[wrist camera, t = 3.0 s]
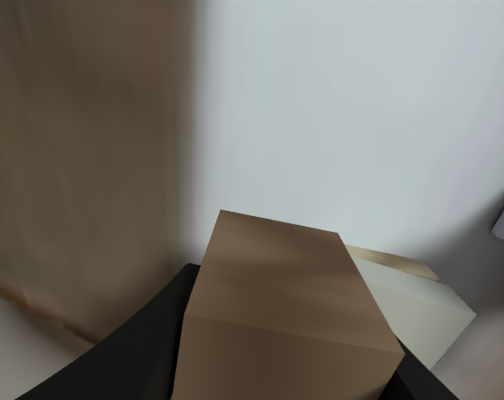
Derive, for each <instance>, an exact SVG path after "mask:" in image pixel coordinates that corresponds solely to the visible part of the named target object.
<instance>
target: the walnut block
mask: <svg viewBox="0 0 504 400" xmlns="http://www.w3.org/2000/svg"><path fill="white" fill-rule="evenodd" d="M404 355H405V353H404V351H403V349H402V348H401V346H400V344H399V342H398V340H397V339H396V337H395V335H394V333H393V331H392V330H391V328H390V326H389V324H388V322H387V321H386V319H385V317H384V315H383V313H382V312H381V310H380V308H379V306H378V304H377V303H376V301H375V299H374V297H373V295H372V294H371V292H370V290H369V288H368V286H367V285H366V283H365V281H364V279H363V277H362V276H361V274H360V272H359V270H358V269H357V267H356V265H355V263H354V261H353V260H352V258H351V256H350V254H349V252H348V251H347V249H346V247H345V245H344V243H343V242H342V240H341V238H340V236H339V234H338V233H335V232H330V231H325V230H320V229H315V228H310V227H305V226H300V225H295V224H290V223H285V222H280V221H275V220H270V219H265V218H260V217H255V216H250V215H245V214H240V213H235V212H230V211H225V210H220V212H219V215H218V218H217V221H216V224H215V227H214V230H213V232H212V235H211V238H210V241H209V244H208V247H207V250H206V253H205V256H204V258H203V261H202V264H201V267H200V270H199V273H198V276H197V279H196V282H195V285H194V287H193V290H192V293H191V296H190V299H189V302H188V305H187V308H186V311H185V313H184V319H183V326H182V333H181V340H180V347H179V354H178V361H177V367H176V374H175V381H174V388H173V395H172V400H378V398H379V396H380V395H381V393H382V391H383V390H384V388H385V387H386V385H387V383H388V382H389V380H390V378H391V377H392V375H393V373H394V372H395V370H396V368H397V367H398V365H399V363H400V362H401V360H402V358H403V357H404Z"/></svg>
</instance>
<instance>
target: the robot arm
mask: <svg viewBox="0 0 504 400" xmlns="http://www.w3.org/2000/svg"><path fill="white" fill-rule="evenodd" d="M492 234H493V235H494V236H495V237H497V238H499V239H504V211H503V213H502V214H501V216H500V217H499V219H498V221H497V222H496V224H495V226H494V227H493V229H492ZM200 267H201V265H196V264H191V263H188V264H187V265H185V266H184V267H183V268H182V270H181V271H180V272H179V273H178V274H177V275H176V276H175V277H174V278H173V279H172V280H171V281H170V282H169V283H168V284H167V285H166V286H165V287H164V288H163V289H162V290H161V291H160V292H159V293H158V294H157V295H156V296H155V297H154V298H153V299H152V300H151V301H149V302H148V303H147V304H146V305H145V306H144V307H143V308H142V309H141V310H139V311H138V312H137V313H136V314H135V315H133V316H132V317H131V318H130V319H129V320H127V321H126V322H125V323H124V324H123V325H121V326H120V327H119V328H118V329H117V330H115V331H114V332H113V333H111V334H110V335H109V336H108V337H106V338H105V339H104V340H102V341H101V342H100V343H98V344H97V345H96V346H94V347H93V348H92V349H90V350H89V351H88V352H86V353H85V354H83V355H82V356H80V357H79V358H78V359H76V360H75V361H73V362H72V363H70V364H69V365H67V366H66V367H64V368H63V369H61V370H60V371H59V372H57V373H55V374H54V375H53V376H51V377H49V378H48V379H46V380H45V381H43V382H42V383H40V384H39V385H37V386H36V387H34V388H33V389H31V390H29V391H28V392H26V393H25V394H23V395H21V396H20V397H18V398H17V399H15V400H170V398H171V395H172V393H173V388H174V381H175V374H176V367H177V361H178V354H179V347H180V340H181V333H182V326H183V319H184V313H185V311H186V308H187V305H188V302H189V299H190V296H191V293H192V290H193V287H194V285H195V282H196V279H197V276H198V273H199V270H200ZM394 335H395V334H394ZM395 337H396V339H397V340H398V342H399V344H400V346H401V348H402V349H403V351H404V353H405V355H404V357H403V358H402V360H401V362H400V363H399V365H398V367H397V368H396V370H395V372H394V373H393V375H392V377H391V378H390V380H389V382H388V383H387V385H386V387H385V388H384V390H383V391H382V393H381V395H380V396H379V398H378V400H459V399H458V398H457V397H456V396H455V395H454V394H453V393H452V392H451V391H450V390H449V389H448V388H447V387H446V386H445V385H444V384H443V383H442V382H441V381H440V380H438V379H437V378H436V377H435V376H434V375H433V374H432V373H431V372H430V371H429V370H428V369H427V368H426V367H425V366H424V365H423V364H422V363H421V361H420V360H419V359H418V358H417V357H416V356H415V355H414V354H413V353H412V352H411V351H410V350H409V349H408V348H407V347H406V346H405V345H404V344H403V343H402V342H401V341H400V339H399V338H398V337H397V336H396V335H395Z"/></svg>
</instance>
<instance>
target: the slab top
mask: <svg viewBox="0 0 504 400" xmlns="http://www.w3.org/2000/svg"><path fill="white" fill-rule="evenodd" d="M350 256H351V255H350ZM351 258H352V260H353V261H354V263H355V265H356V267H357V269H358V270H359V272H360V274H361V276H362V277H363V279H364V281H365V283H366V285H367V286H368V288H369V290H370V292H371V294H372V295H373V297H374V299H375V301H376V303H377V304H378V306H379V308H380V310H381V312H382V313H383V315H384V317H385V319H386V321H387V322H388V324H389V326H390V328H391V330H392V331H393V333H394V334H395V335H396V336H397V337H398V338H399V339H400V341H401V342H402V343H403V344H404V345H405V346H406V347H407V348H408V349H409V350H410V351H411V352H412V353H413V354H414V355H415V356H416V357H417V358H418V359H419V360H420V361H421V363H422V364H423V365H424V366H425V367H426V368H427V369H428V370H429V371H430V370H431V369H432V367H433V366H434V365H435V364H436V363H437V362H438V360H439V359H440V358H441V357H442V356H443V354H444V353H445V352H446V351H447V350H448V349H449V347H450V346H451V345H452V344H453V343H454V341H455V340H456V339H457V338H458V337H459V336H460V334H461V333H462V332H463V331H464V330H465V329H466V327H467V326H468V325H469V324H470V323H471V321H472V320H473V319H474V318H475V317H476V316H477V315H476V314H475V313H474V312H473V311H472V310H471V309H470V308H469V307H468V306H467V305H466V304H465V303H464V302H463V300H462V299H461V298H460V297H459V296H458V295H457V294H456V293H455V292H454V291H453V290H452V289H451V288H450V287H449V286H448V285H445V284H442V283H439V282H435V281H432V280H429V279H426V278H422V277H419V276H416V275H413V274H409V273H406V272H403V271H400V270H396V269H393V268H390V267H387V266H383V265H380V264H377V263H374V262H370V261H367V260H364V259H361V258H357V257H354V256H351Z"/></svg>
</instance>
